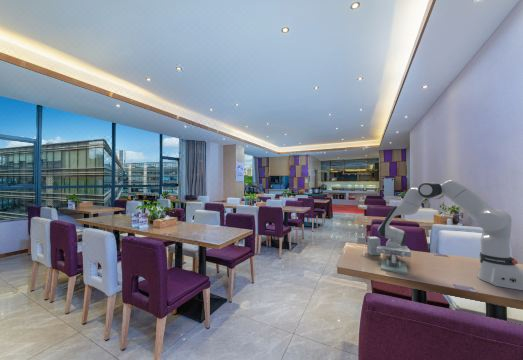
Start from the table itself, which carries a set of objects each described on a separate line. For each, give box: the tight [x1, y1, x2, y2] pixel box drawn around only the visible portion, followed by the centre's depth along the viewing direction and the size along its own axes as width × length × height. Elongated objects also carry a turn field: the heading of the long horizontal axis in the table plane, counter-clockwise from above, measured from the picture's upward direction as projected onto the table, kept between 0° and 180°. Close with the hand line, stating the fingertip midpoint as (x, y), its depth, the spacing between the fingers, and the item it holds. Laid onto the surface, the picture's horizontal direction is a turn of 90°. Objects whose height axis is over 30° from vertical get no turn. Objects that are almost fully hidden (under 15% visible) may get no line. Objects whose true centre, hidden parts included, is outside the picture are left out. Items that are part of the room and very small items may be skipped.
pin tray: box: [380, 259, 409, 275], centre depth 143 cm, size 18×14×4 cm
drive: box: [390, 250, 398, 267], centre depth 143 cm, size 6×3×9 cm, turn 150°
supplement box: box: [366, 236, 382, 256], centre depth 170 cm, size 7×7×13 cm
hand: (393, 254), depth 145 cm, fingers open, 8 cm apart
